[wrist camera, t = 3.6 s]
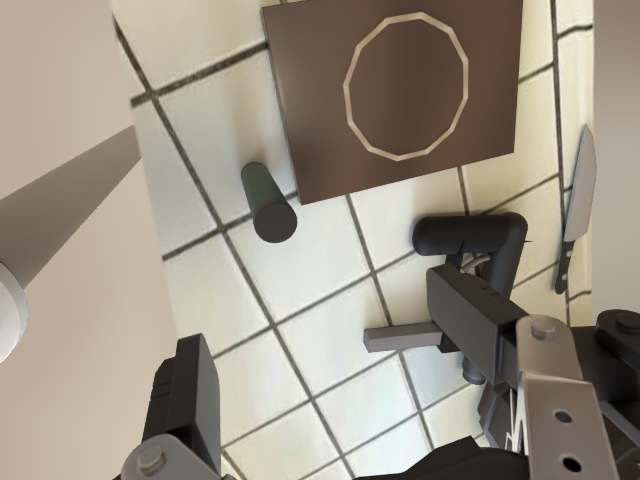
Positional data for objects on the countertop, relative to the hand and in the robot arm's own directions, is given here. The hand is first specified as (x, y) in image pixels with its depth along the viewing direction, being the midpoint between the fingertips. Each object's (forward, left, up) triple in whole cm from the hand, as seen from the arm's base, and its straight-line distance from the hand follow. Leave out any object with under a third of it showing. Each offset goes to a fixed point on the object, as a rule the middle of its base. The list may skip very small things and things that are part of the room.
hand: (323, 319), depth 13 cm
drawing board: (+13, +5, -19) cm, 23 cm away
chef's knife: (+32, -11, -19) cm, 39 cm away
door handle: (+15, -17, -19) cm, 30 cm away
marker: (0, +1, -19) cm, 19 cm away
